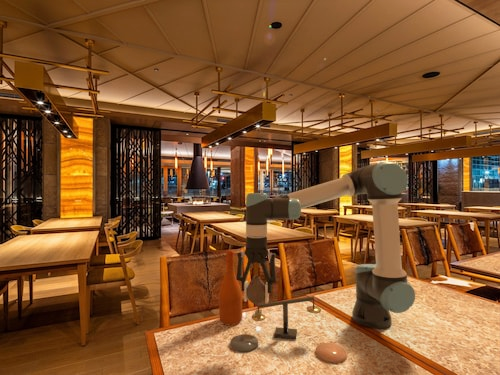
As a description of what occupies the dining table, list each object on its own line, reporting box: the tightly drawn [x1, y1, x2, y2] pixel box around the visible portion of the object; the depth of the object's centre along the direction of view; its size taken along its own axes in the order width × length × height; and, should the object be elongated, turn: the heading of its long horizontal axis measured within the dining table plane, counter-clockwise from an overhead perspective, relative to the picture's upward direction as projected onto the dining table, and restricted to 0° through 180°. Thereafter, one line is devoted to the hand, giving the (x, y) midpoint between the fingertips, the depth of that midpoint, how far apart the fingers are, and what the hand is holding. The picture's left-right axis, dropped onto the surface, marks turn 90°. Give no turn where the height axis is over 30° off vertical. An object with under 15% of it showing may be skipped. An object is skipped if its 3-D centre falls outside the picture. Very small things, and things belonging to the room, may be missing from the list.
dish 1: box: [229, 333, 259, 353], centre depth 100 cm, size 10×10×1 cm
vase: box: [247, 275, 266, 305], centre depth 99 cm, size 7×7×9 cm
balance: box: [251, 296, 322, 341], centre depth 106 cm, size 26×5×15 cm, turn 77°
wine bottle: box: [218, 249, 243, 326], centre depth 118 cm, size 10×10×30 cm
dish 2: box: [315, 342, 348, 364], centre depth 93 cm, size 10×10×1 cm
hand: (256, 300), depth 99 cm, fingers closed on vase, 7 cm apart
